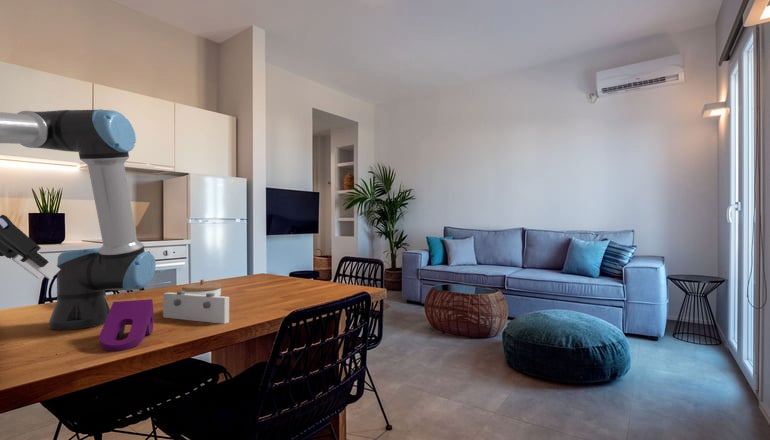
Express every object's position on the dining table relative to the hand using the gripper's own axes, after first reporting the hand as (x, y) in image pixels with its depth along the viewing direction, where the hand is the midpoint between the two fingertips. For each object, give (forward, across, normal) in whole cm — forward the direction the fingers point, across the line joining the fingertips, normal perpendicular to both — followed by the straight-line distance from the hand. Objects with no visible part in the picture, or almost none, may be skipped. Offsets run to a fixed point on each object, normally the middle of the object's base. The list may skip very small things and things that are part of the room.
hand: (48, 273), depth 84 cm
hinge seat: (+43, 0, +15) cm, 46 cm away
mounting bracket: (+27, 0, -2) cm, 27 cm away
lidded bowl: (+51, -8, +22) cm, 57 cm away
